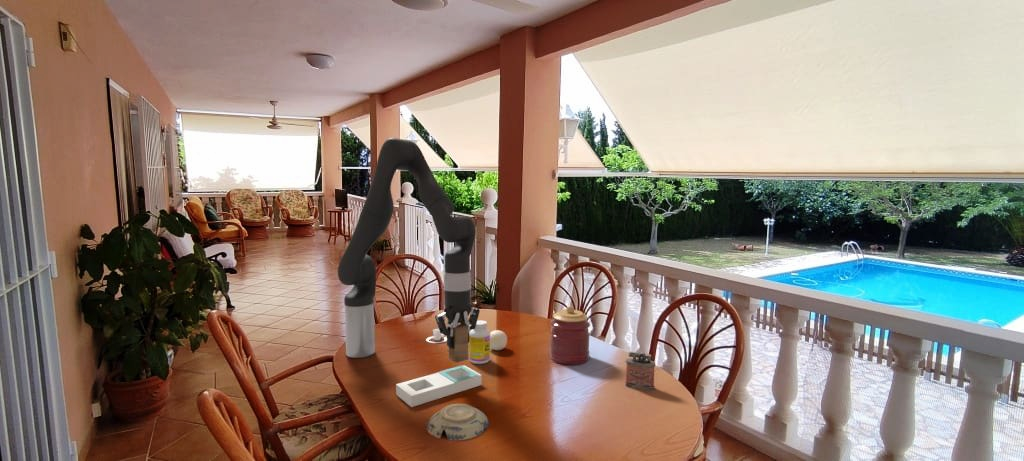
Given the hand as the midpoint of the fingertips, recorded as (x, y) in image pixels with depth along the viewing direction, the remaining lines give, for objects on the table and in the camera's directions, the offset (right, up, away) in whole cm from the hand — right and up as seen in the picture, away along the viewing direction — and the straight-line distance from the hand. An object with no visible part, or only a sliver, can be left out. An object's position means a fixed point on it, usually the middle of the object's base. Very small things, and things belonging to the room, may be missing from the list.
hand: (458, 346), depth 136 cm
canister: (+34, -9, +22) cm, 42 cm away
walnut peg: (0, -4, 0) cm, 4 cm away
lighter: (+52, -12, 0) cm, 53 cm away
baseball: (+10, -8, +30) cm, 33 cm away
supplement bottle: (+5, -10, +19) cm, 22 cm away
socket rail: (-5, -12, -3) cm, 13 cm away
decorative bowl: (+2, -14, -21) cm, 25 cm away
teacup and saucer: (-9, -8, +41) cm, 42 cm away
